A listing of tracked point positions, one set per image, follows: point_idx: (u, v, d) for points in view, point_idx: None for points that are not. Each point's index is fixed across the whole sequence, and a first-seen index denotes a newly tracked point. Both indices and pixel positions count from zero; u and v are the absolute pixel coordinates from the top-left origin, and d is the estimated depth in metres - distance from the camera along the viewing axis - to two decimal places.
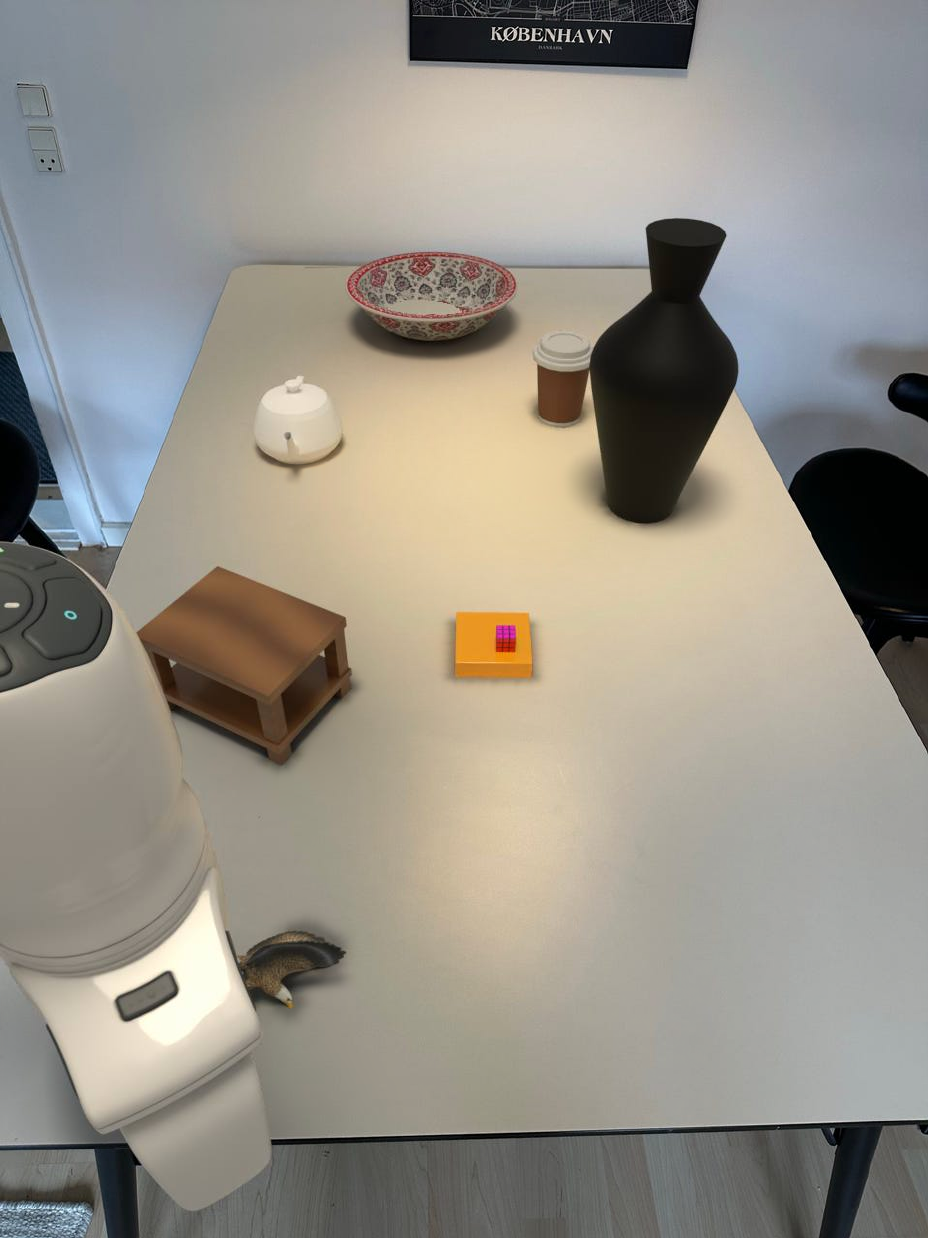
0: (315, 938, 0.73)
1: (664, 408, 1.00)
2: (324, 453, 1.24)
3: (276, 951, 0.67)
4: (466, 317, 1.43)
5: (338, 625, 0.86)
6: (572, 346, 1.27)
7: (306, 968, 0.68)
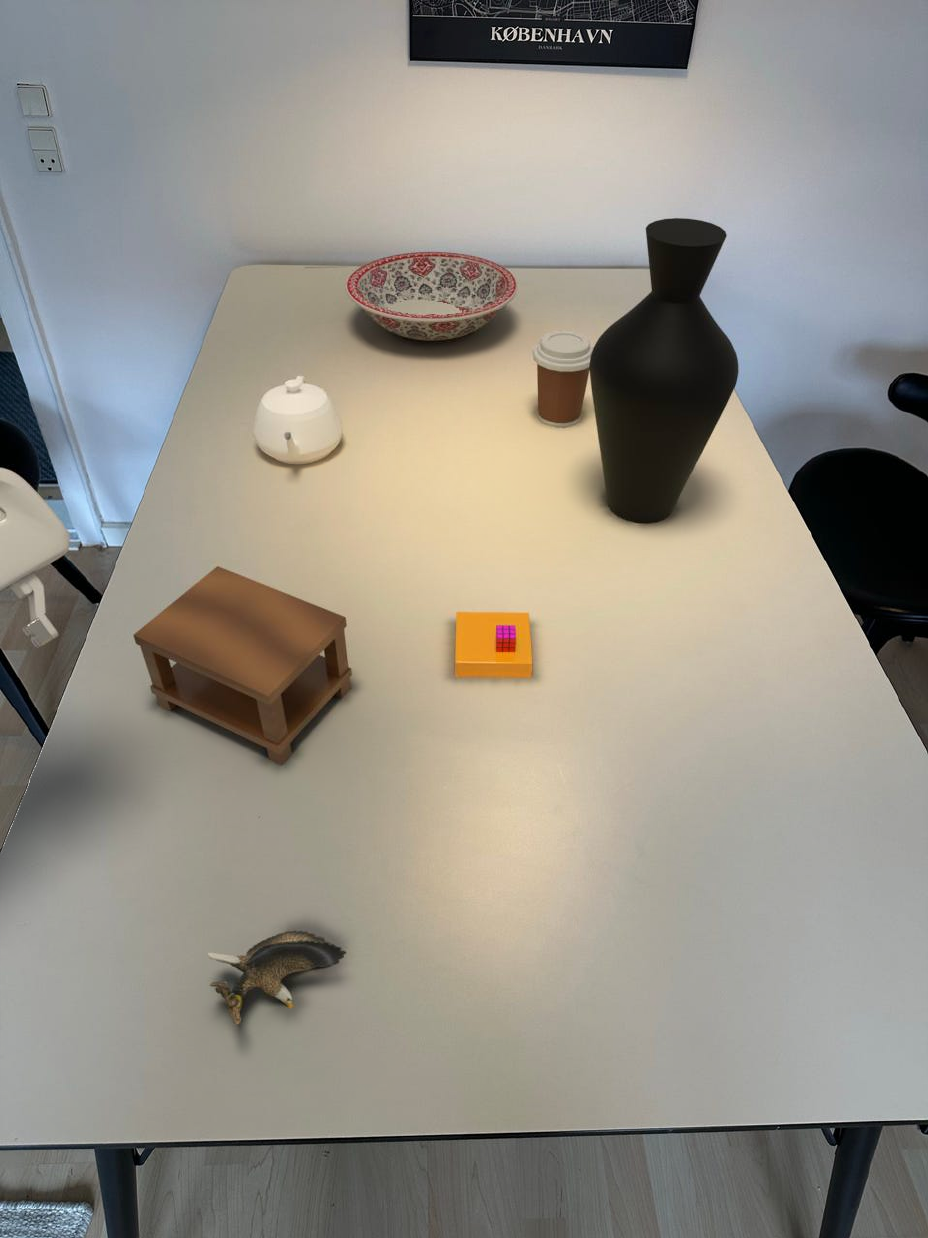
0: (315, 938, 0.73)
1: (664, 408, 1.00)
2: (324, 453, 1.24)
3: (276, 951, 0.67)
4: (466, 317, 1.43)
5: (338, 625, 0.86)
6: (572, 346, 1.27)
7: (306, 968, 0.68)
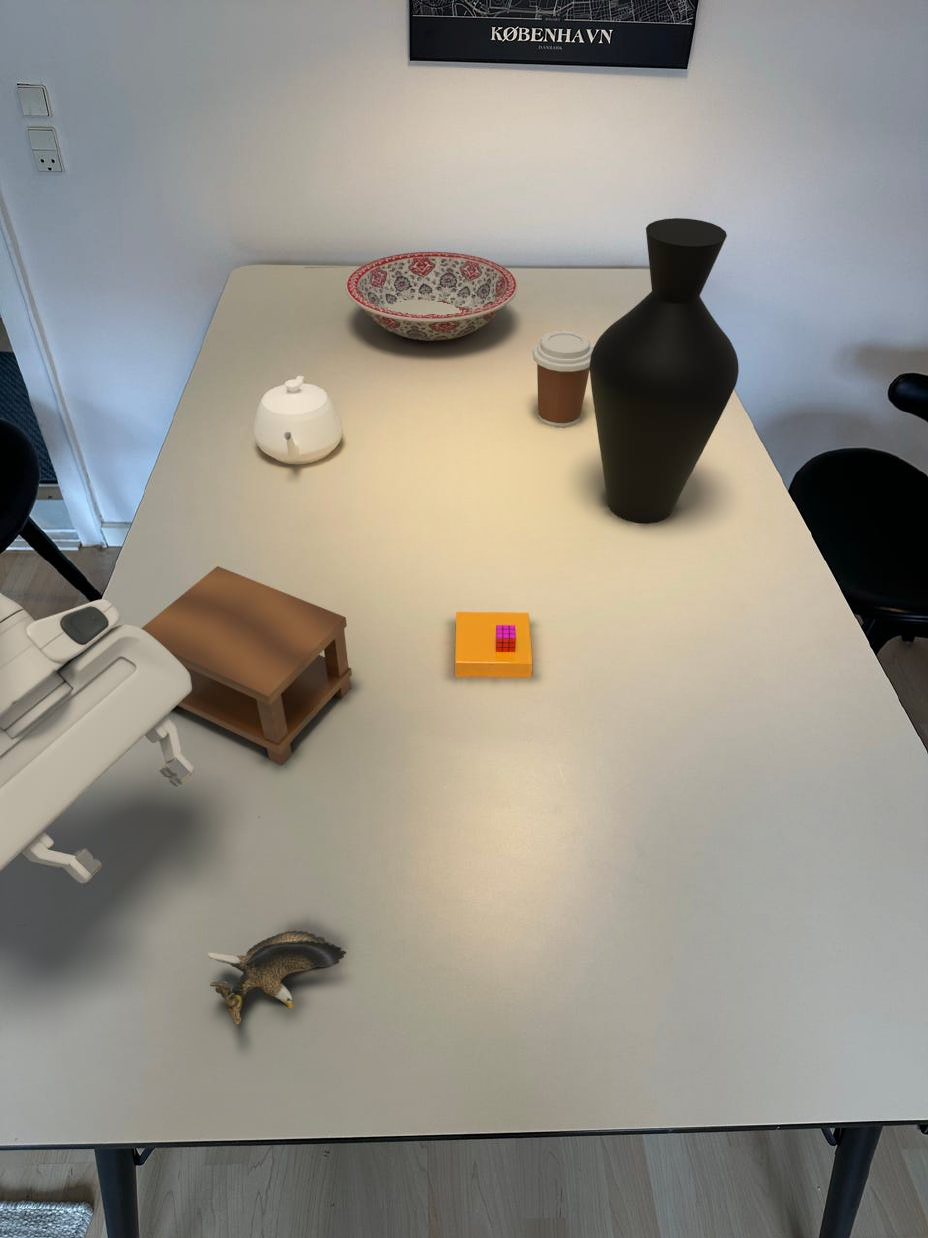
0: (315, 938, 0.73)
1: (664, 408, 1.00)
2: (324, 453, 1.24)
3: (276, 951, 0.67)
4: (466, 317, 1.43)
5: (338, 625, 0.86)
6: (572, 346, 1.27)
7: (306, 968, 0.68)
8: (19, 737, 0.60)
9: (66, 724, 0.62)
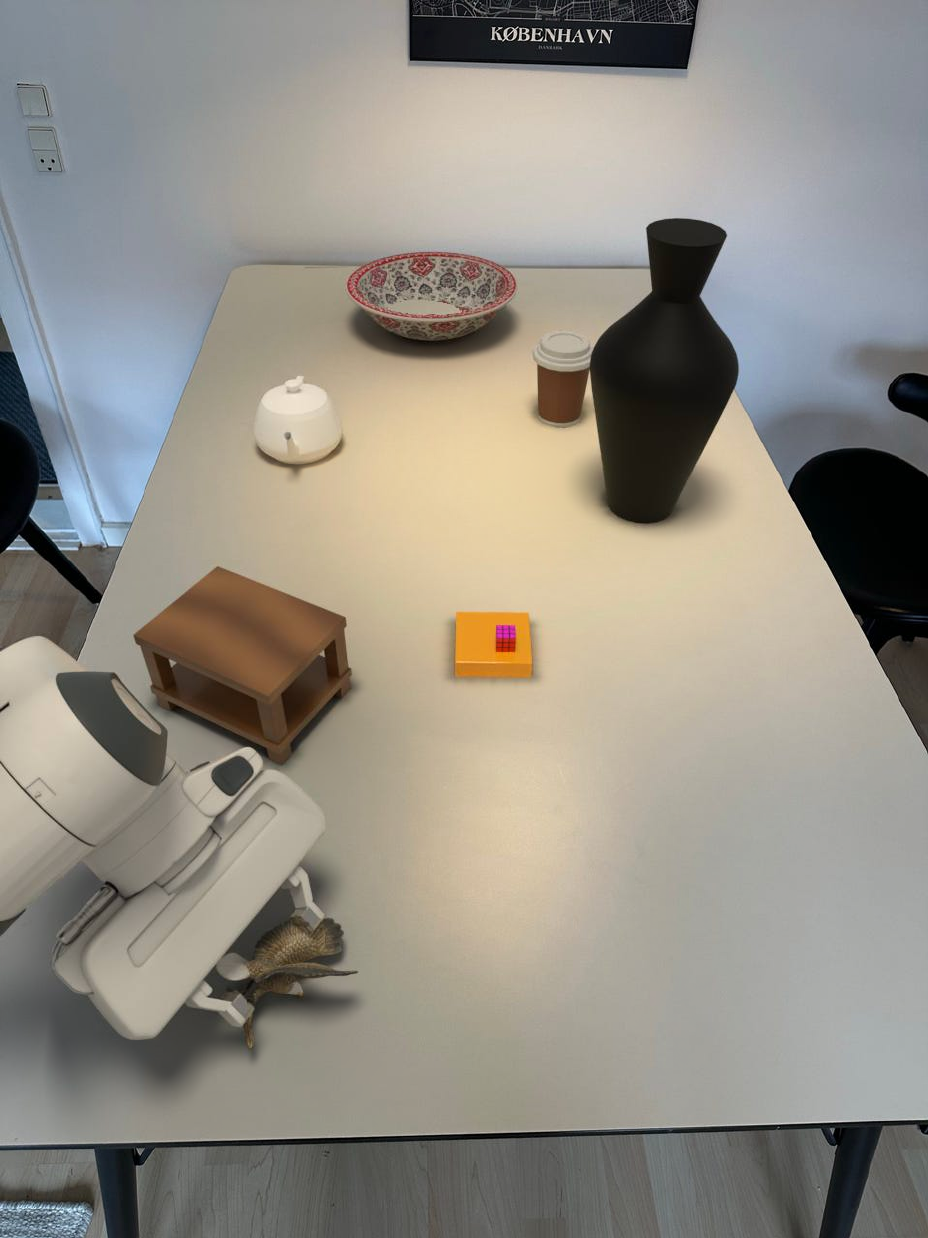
0: (324, 921, 0.71)
1: (664, 408, 1.00)
2: (324, 453, 1.24)
3: None
4: (466, 317, 1.43)
5: (338, 625, 0.86)
6: (572, 346, 1.27)
7: (317, 977, 0.67)
8: (175, 892, 0.62)
9: (216, 875, 0.64)
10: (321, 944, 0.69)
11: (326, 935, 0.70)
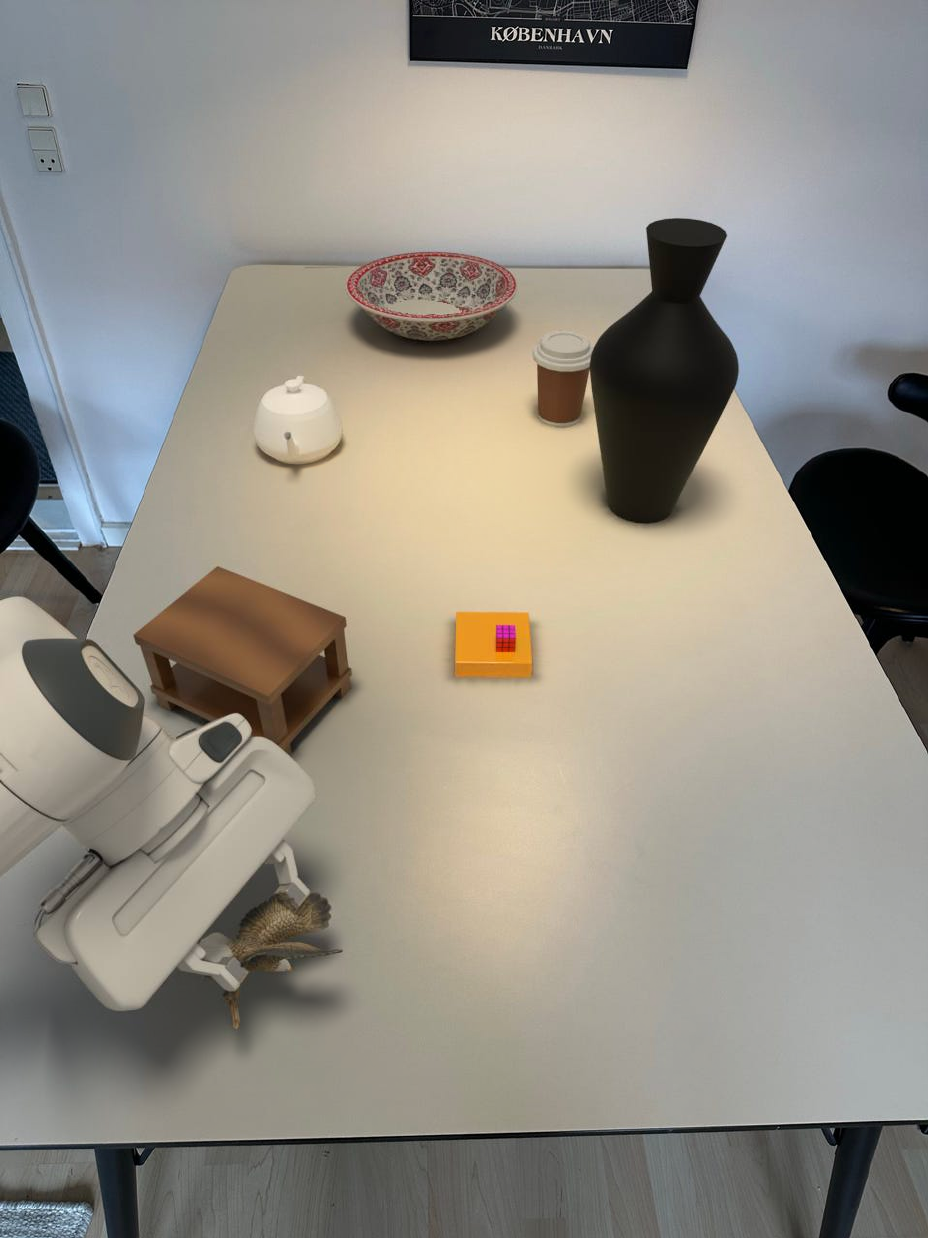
0: (310, 896, 0.69)
1: (664, 408, 1.00)
2: (324, 453, 1.24)
3: None
4: (466, 317, 1.43)
5: (338, 625, 0.86)
6: (572, 346, 1.27)
7: None
8: (161, 860, 0.60)
9: (203, 843, 0.62)
10: (307, 920, 0.68)
11: (313, 911, 0.68)
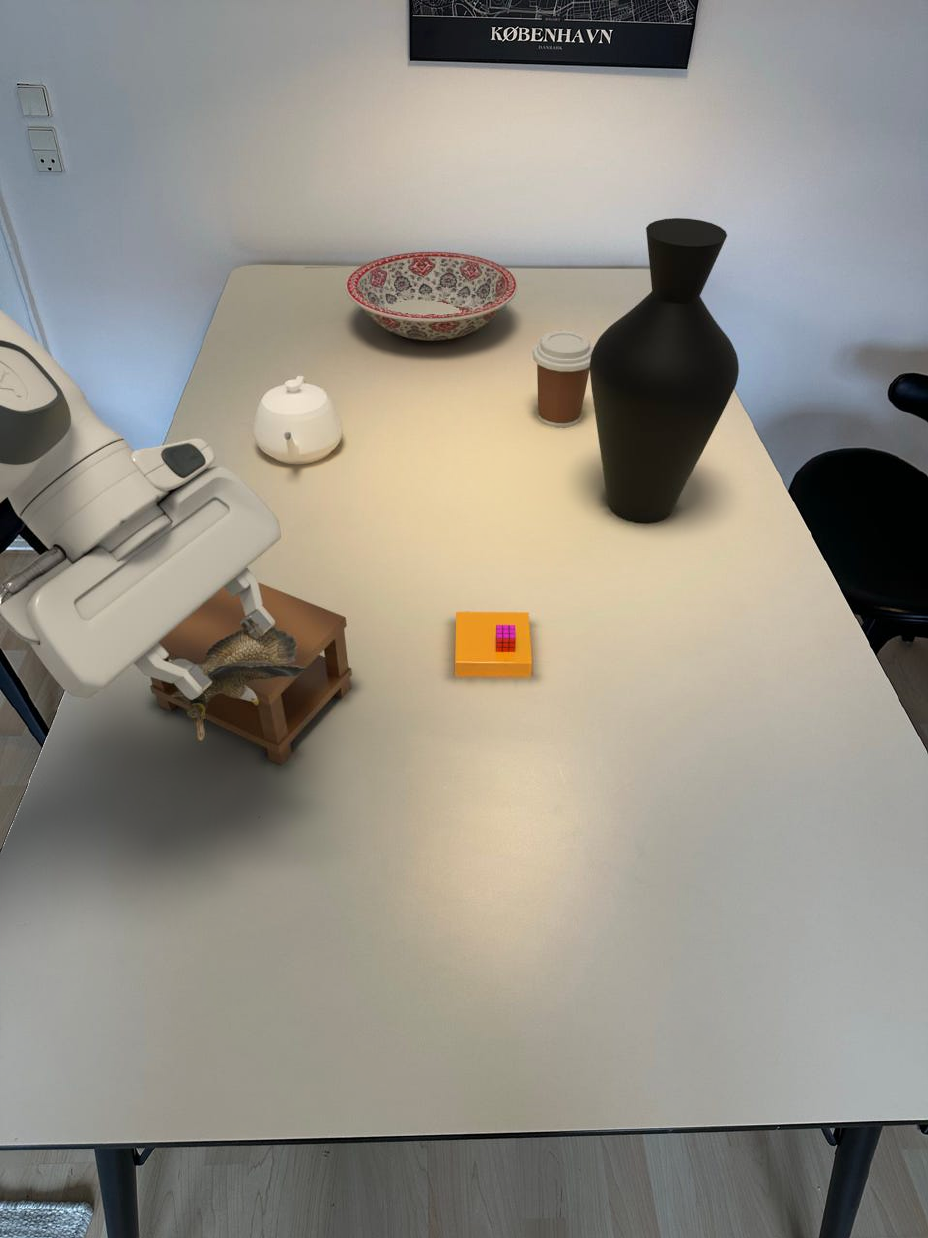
0: (277, 633, 0.70)
1: (664, 408, 1.00)
2: (324, 453, 1.24)
3: (234, 667, 0.65)
4: (466, 317, 1.43)
5: (338, 625, 0.86)
6: (572, 346, 1.27)
7: (267, 678, 0.67)
8: (124, 560, 0.61)
9: (167, 554, 0.63)
10: (273, 652, 0.69)
11: (279, 645, 0.70)
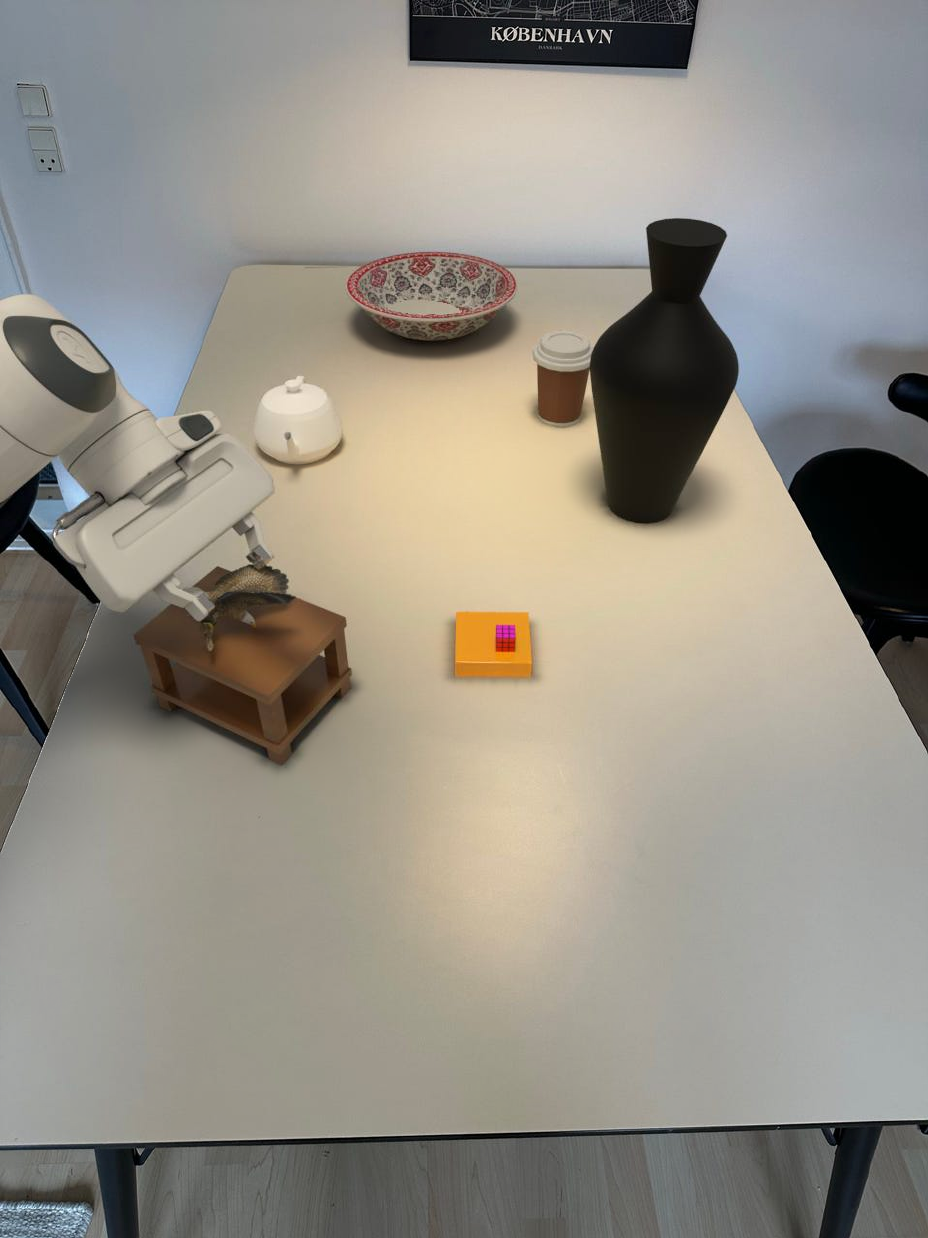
0: (272, 570, 0.86)
1: (664, 408, 1.00)
2: (324, 453, 1.24)
3: (238, 593, 0.82)
4: (466, 317, 1.43)
5: (338, 625, 0.86)
6: (572, 346, 1.27)
7: (264, 604, 0.83)
8: (150, 504, 0.77)
9: (183, 502, 0.80)
10: (269, 585, 0.85)
11: (274, 580, 0.86)
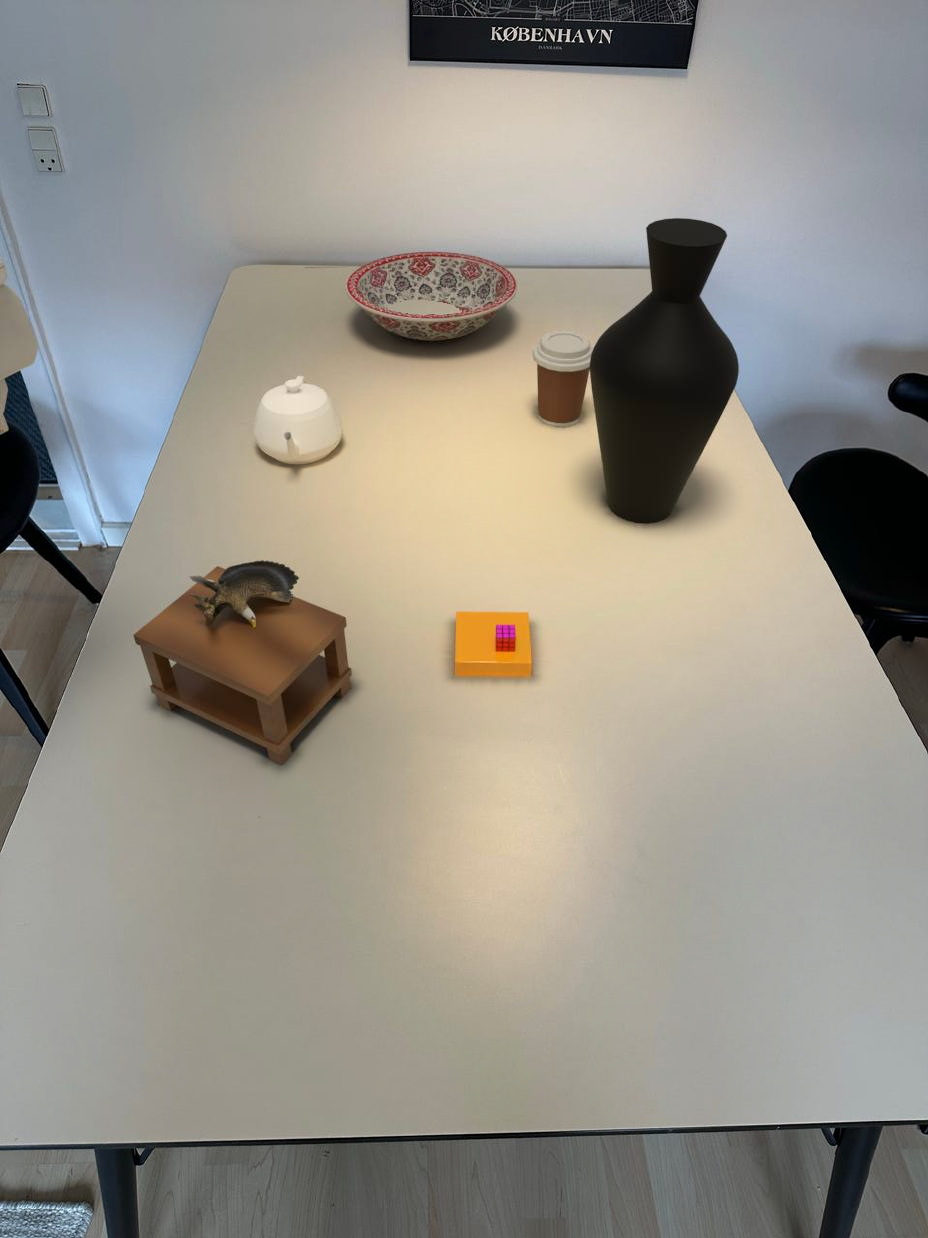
0: None
1: (664, 408, 1.00)
2: (324, 453, 1.24)
3: (243, 574, 0.84)
4: (466, 317, 1.43)
5: (338, 625, 0.86)
6: (572, 346, 1.27)
7: (267, 591, 0.85)
8: None
9: None
10: None
11: None
